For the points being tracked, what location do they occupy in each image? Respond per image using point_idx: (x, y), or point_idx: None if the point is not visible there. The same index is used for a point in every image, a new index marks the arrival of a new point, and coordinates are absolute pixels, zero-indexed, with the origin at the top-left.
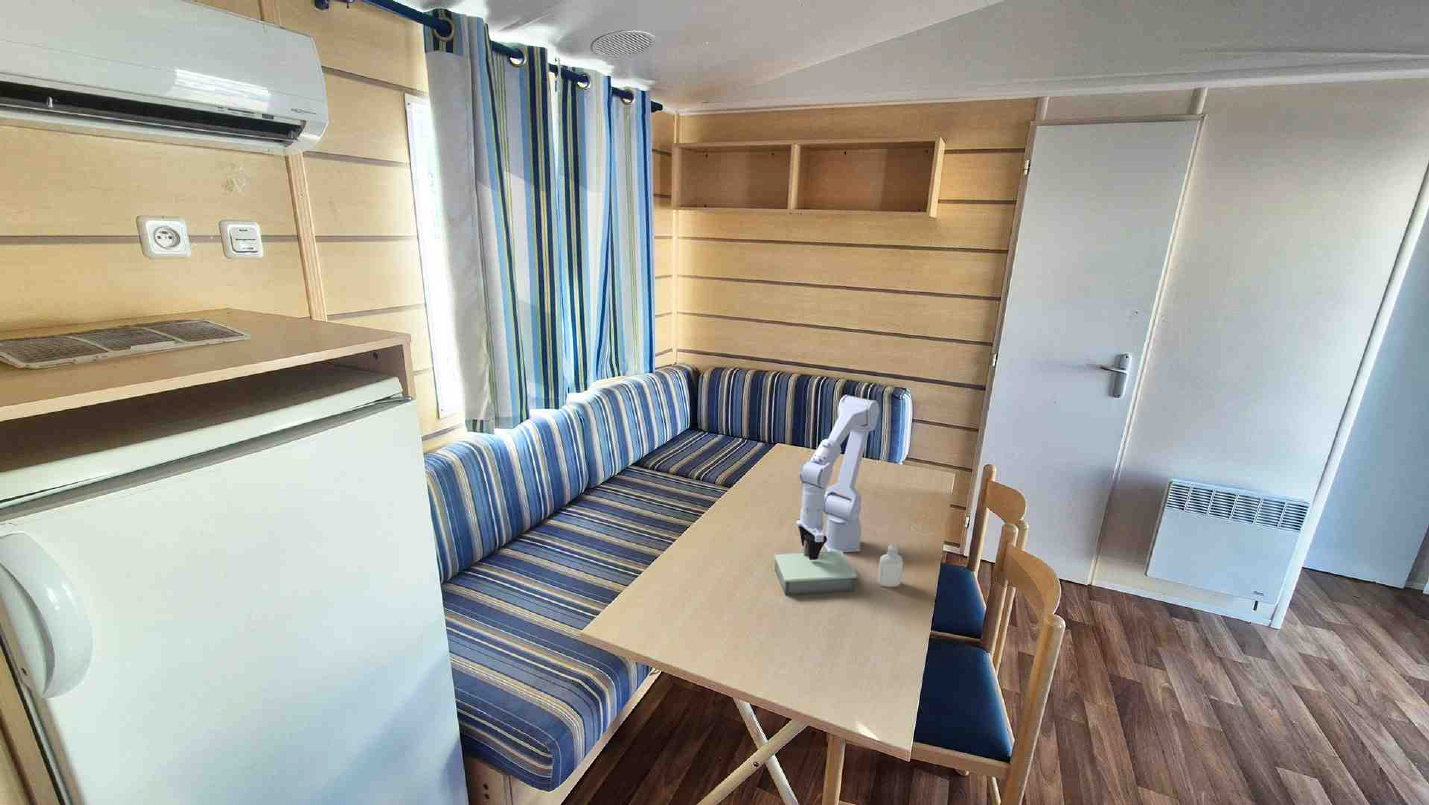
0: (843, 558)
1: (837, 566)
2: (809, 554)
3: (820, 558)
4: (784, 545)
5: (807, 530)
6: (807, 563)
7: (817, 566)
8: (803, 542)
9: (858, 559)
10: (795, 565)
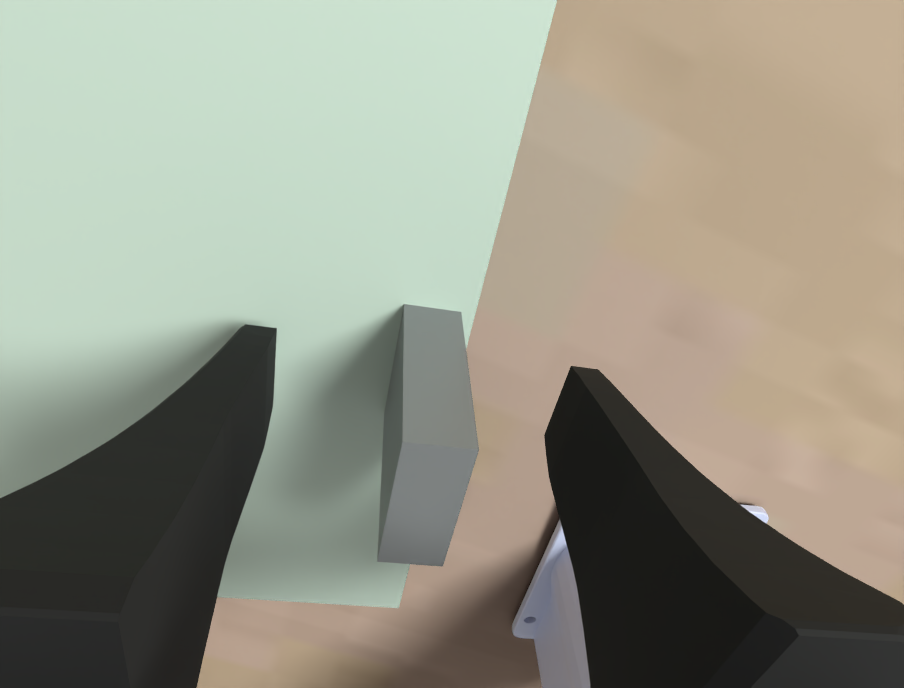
0: (277, 585)
1: None
2: (201, 368)
3: (313, 434)
4: (885, 227)
5: (625, 602)
6: (225, 270)
7: (144, 350)
8: (582, 409)
9: (439, 593)
10: (185, 84)
